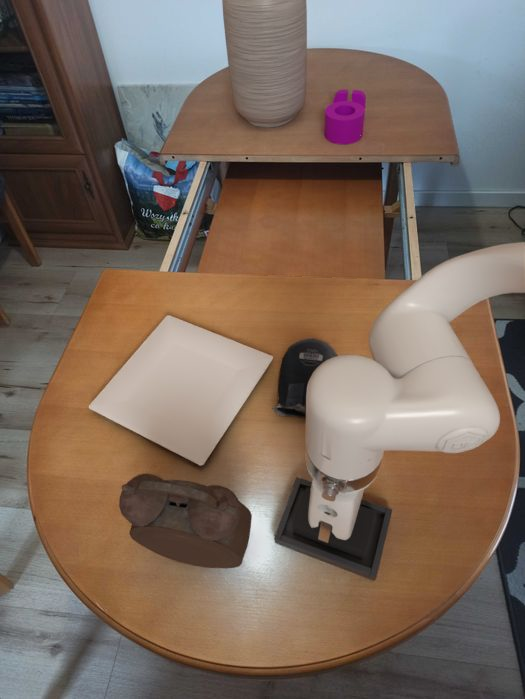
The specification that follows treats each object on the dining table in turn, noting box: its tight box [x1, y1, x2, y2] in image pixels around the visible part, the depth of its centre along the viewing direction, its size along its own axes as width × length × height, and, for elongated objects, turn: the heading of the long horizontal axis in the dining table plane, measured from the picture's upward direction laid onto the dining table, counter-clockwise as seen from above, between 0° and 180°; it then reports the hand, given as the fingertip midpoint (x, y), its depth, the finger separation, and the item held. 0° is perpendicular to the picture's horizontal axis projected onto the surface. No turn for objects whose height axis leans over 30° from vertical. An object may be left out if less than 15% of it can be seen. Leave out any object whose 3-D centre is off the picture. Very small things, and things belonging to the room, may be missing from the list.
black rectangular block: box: [293, 487, 376, 559], centre depth 66 cm, size 10×6×4 cm, turn 68°
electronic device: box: [271, 337, 339, 419], centre depth 81 cm, size 9×6×15 cm
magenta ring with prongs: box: [323, 89, 367, 145], centre depth 129 cm, size 16×10×6 cm, turn 166°
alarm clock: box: [118, 473, 253, 569], centre depth 60 cm, size 15×7×20 cm, turn 78°
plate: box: [88, 314, 274, 466], centre depth 83 cm, size 22×22×2 cm
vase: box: [221, 0, 308, 128], centre depth 125 cm, size 20×20×34 cm
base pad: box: [273, 476, 393, 582], centre depth 67 cm, size 14×9×2 cm
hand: (333, 516), depth 64 cm, fingers closed
